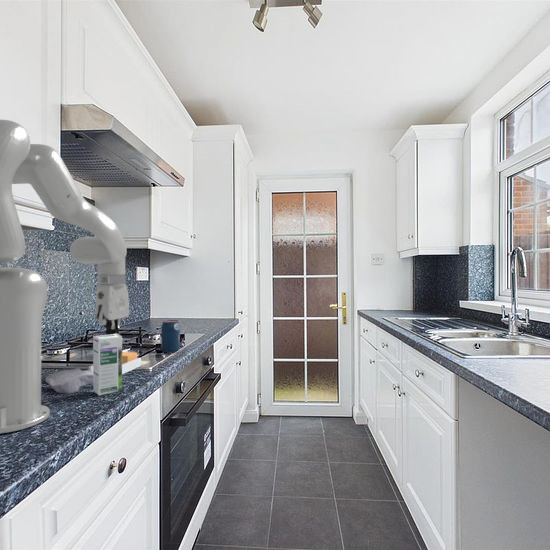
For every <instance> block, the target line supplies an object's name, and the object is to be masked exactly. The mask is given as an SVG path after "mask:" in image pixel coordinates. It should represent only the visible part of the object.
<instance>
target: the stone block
mask: <svg viewBox="0 0 550 550" xmlns="http://www.w3.org/2000/svg"><path fill="white" fill-rule="evenodd" d="M45 383H46V384H48V385H49V386H50V387H51V388H52V389H53V391H55V392H56V393H59V394H60V393H61V394H71V393H75V392H80V391H82V390H86V389H88V388H91V386H85V385H89V384H90V385H91V384H93V370H89V369H87V370H82V369H81V368H79V367H76V368H74V369H67V370H66V369H65V370H61V371H57V372H54V373H52V374H50V375H48V376H46V378H45Z"/></svg>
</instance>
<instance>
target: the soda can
mask: <svg viewBox="0 0 550 550" xmlns="http://www.w3.org/2000/svg"><path fill="white" fill-rule="evenodd" d="M160 327H161V329H160V330H161V331H160V333H161V338H160V339H161V343H160V344H161V347H160V349H161V351H162V353H164V352H167V353H166V354H173V353H172V352H176V353H178V352H179V350H180V349H181V348H180V347H181V346H180V345H181V339H180V337H181V325H180V322H179V320H178V319H177V320H176V319H167V320H163V321H162V324H161V326H160ZM177 351H178V352H177Z"/></svg>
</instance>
